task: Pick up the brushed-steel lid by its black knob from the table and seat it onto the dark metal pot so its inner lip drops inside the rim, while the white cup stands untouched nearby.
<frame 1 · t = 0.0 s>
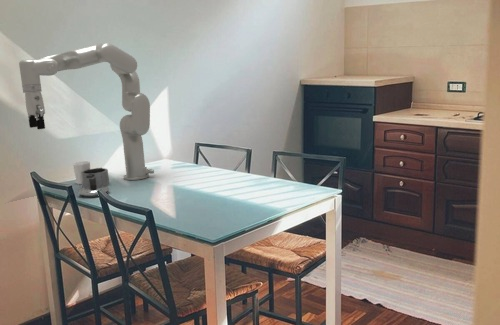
hand: (37, 128, 235), 31 cm above the table, tool pointing down, fingers open, 9 cm apart
lid: (94, 194, 242), on the table
white cup: (83, 183, 265), on the table
pot: (96, 185, 258), on the table
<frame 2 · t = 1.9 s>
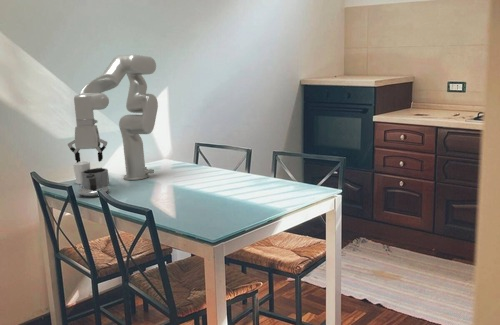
hand: (89, 161, 238), 15 cm above the table, tool pointing down, fingers open, 9 cm apart
nothing on the table moved.
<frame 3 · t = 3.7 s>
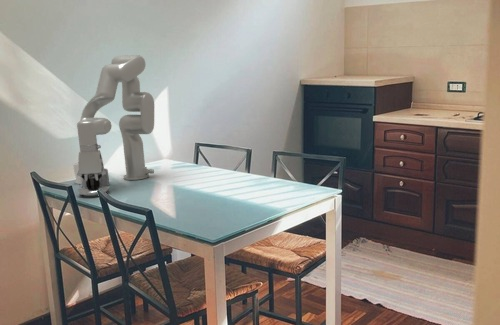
hand: (93, 188, 241), 3 cm above the table, tool pointing down, fingers closed on lid, 2 cm apart
lid: (94, 194, 242), on the table, touching gripper
everything else where it was.
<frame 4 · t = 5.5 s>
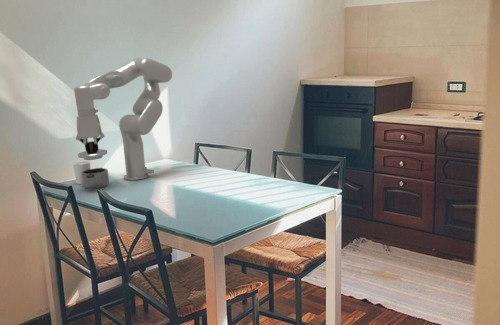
hand: (92, 151, 248), 17 cm above the table, tool pointing down, fingers closed on lid, 2 cm apart
lid: (93, 157, 249), point 15 cm above the table, touching gripper
everything else where it was.
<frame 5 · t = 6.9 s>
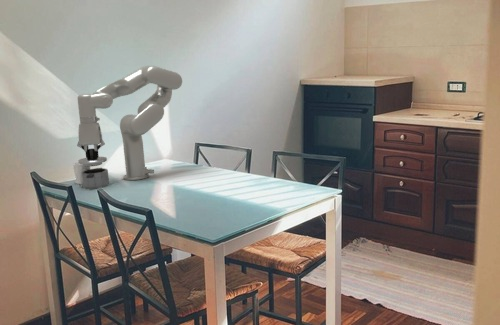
hand: (92, 158, 255), 13 cm above the table, tool pointing down, fingers closed on lid, 2 cm apart
lid: (93, 164, 256), point 10 cm above the table, touching gripper
everything else where it was.
when the fingers open (10 cm above the table, at t = 7.7 s): lid drops 1 cm, resting on pot.
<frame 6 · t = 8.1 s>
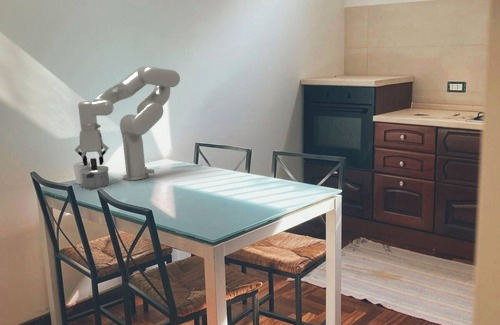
hand: (93, 164, 256), 10 cm above the table, tool pointing down, fingers open, 6 cm apart
lid: (94, 174, 257), point 5 cm above the table, touching pot
everything else where it was.
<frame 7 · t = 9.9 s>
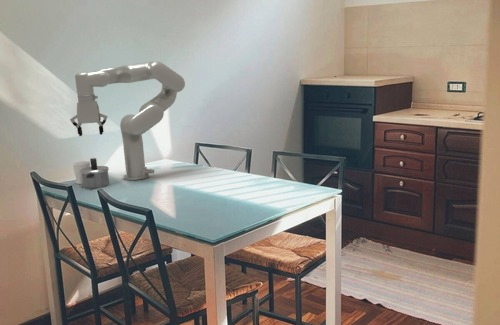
hand: (91, 134, 256), 24 cm above the table, tool pointing down, fingers open, 9 cm apart
nothing on the table moved.
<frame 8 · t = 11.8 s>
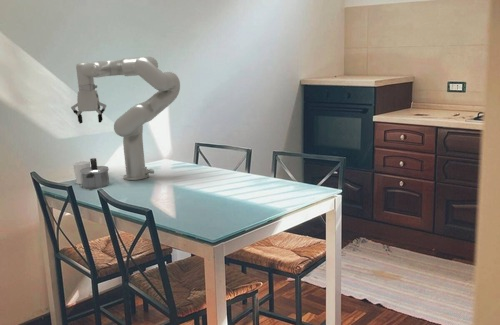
hand: (90, 122, 268), 28 cm above the table, tool pointing down, fingers open, 9 cm apart
nothing on the table moved.
at the end: lid 0.1 cm off-centre on the pot, point 5.5 cm above the pot's base; lid tilted 0°; the gripper is holding nothing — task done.
